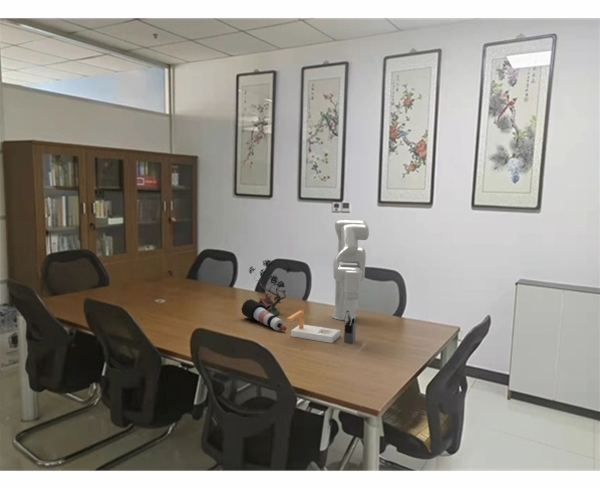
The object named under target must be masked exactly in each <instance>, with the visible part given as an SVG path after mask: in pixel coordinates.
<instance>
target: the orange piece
mask: <svg viewBox="0 0 600 488" xmlns="http://www.w3.org/2000/svg"><path fill="white" fill-rule="evenodd" d="M298 318H299V319H298ZM296 319H298V325H299V328H304V325H305V310H304V309H299V310H298V311H296V312H294V313H293V314H291V315H290V316H288V317H287V318H286V322H287V323H291V322H293V321H294V320H296Z"/></svg>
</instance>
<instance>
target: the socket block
mask: <svg viewBox="0 0 600 488" xmlns="http://www.w3.org/2000/svg"><path fill="white" fill-rule="evenodd" d="M340 336H341V329H336V328H328V327H324V326H315V325H307V324H304V328H299V324H298V325H296V327H294V328H292V329H291V330H290V337H293V338H300V339H305V340H306V339H307V340H312V341H317V342H324V343H330V344H331V343H332V344H333V343H334V342H335V341H336V340H337V339H338V338H339V337H340Z"/></svg>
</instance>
